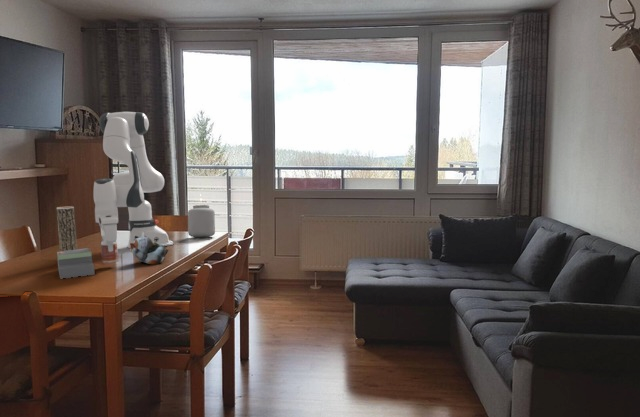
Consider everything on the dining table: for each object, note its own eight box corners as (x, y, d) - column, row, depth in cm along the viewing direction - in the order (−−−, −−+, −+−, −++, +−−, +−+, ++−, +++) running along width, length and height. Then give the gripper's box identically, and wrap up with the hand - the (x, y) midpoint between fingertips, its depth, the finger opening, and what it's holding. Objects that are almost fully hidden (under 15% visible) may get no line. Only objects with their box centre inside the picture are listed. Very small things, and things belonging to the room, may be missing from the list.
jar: (191, 235, 280) (189, 193, 277) (217, 234, 282) (215, 192, 279) (186, 240, 262) (184, 195, 259) (214, 239, 263) (212, 194, 261)
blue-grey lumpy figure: (160, 265, 203) (141, 238, 198) (138, 275, 206) (119, 249, 201) (173, 248, 217) (156, 223, 212) (152, 258, 220) (134, 233, 215)
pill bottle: (119, 261, 201) (117, 235, 199) (103, 263, 197) (101, 237, 196) (116, 258, 206) (114, 233, 204) (101, 260, 202) (99, 235, 201)
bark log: (81, 261, 214) (77, 206, 211) (69, 264, 208) (64, 208, 205) (70, 260, 216) (65, 206, 214) (57, 263, 210) (52, 207, 207)
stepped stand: (90, 266, 204) (88, 247, 203) (94, 274, 189) (93, 254, 188) (58, 270, 198) (56, 250, 197) (60, 279, 183) (58, 258, 182)
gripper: (95, 215, 206) (98, 246, 208) (101, 221, 189) (104, 255, 191) (111, 213, 210) (113, 244, 211) (118, 219, 192) (121, 253, 194)
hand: (109, 249), depth 201 cm, fingers closed on pill bottle, 6 cm apart
